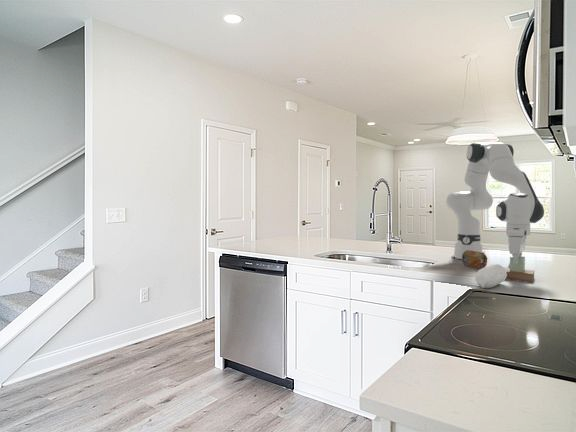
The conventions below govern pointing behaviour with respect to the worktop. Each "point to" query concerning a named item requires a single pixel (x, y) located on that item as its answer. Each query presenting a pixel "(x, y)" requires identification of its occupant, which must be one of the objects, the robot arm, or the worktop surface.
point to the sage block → (517, 267)
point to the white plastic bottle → (490, 276)
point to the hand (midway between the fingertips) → (517, 262)
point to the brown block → (520, 275)
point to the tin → (474, 259)
